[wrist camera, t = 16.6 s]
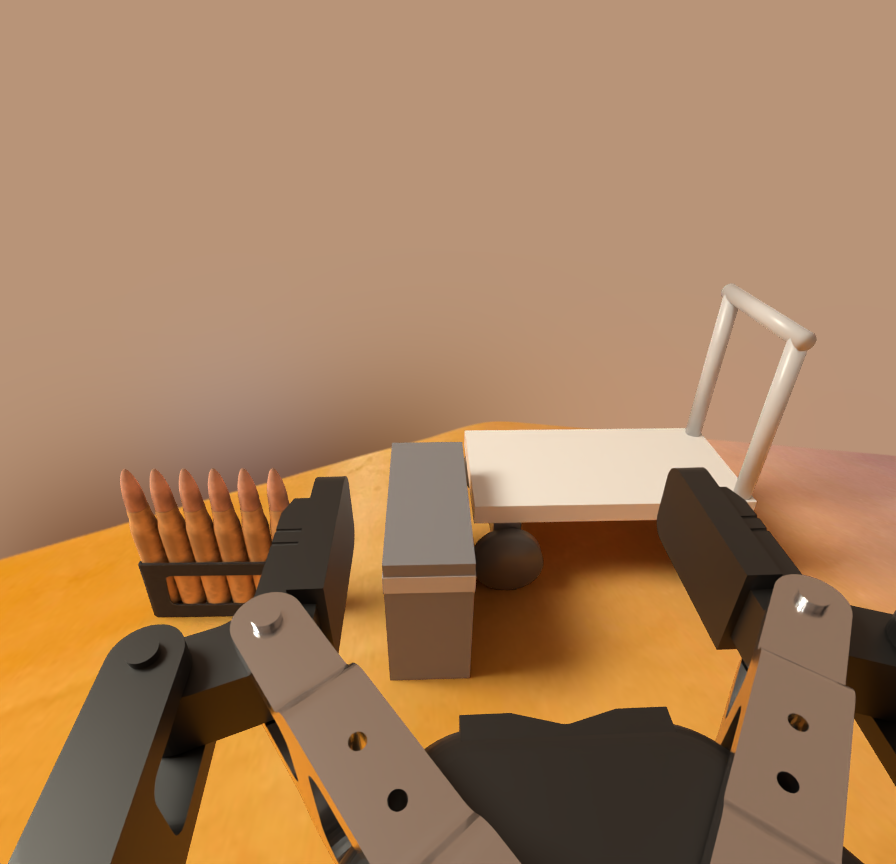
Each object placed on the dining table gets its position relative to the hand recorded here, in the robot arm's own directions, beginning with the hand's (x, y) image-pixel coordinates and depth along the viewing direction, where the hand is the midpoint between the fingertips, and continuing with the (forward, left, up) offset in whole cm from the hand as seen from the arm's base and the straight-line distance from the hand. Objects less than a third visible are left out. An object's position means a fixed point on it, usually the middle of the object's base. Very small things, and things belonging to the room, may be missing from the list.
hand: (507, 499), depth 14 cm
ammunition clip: (+16, -17, -23) cm, 32 cm away
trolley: (-11, -24, -23) cm, 35 cm away
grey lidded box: (+2, -17, -23) cm, 28 cm away
